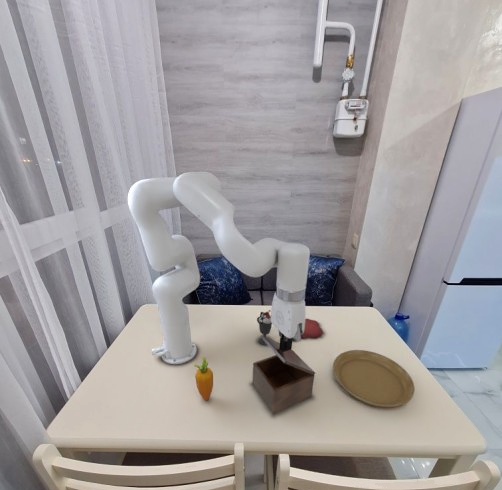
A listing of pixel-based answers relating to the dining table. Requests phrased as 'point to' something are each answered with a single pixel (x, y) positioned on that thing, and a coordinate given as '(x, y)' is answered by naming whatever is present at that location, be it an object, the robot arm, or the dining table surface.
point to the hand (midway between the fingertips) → (285, 349)
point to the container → (281, 383)
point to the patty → (311, 329)
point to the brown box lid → (287, 356)
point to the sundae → (264, 325)
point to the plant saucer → (373, 378)
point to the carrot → (204, 380)
